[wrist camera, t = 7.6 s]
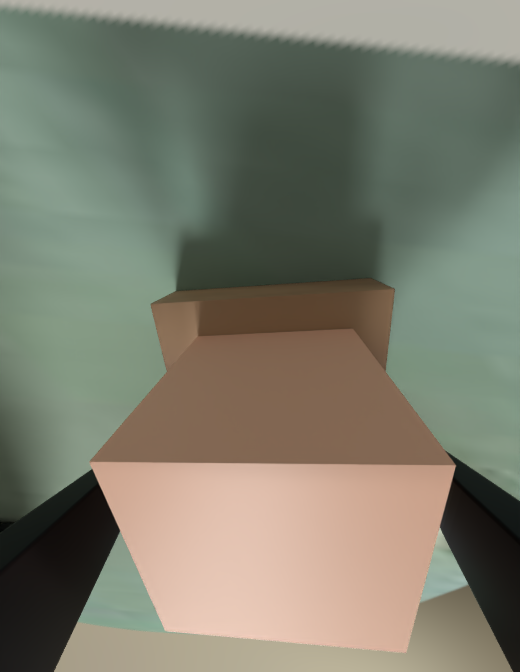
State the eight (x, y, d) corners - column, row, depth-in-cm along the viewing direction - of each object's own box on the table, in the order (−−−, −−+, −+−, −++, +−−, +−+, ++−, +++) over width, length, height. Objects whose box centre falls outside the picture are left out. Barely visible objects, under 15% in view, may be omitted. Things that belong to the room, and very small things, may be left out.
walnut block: (355, 431, 15) (373, 476, 12) (207, 431, 16) (191, 474, 13) (367, 276, 11) (394, 288, 9) (179, 289, 12) (150, 303, 10)
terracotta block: (346, 451, 11) (406, 652, 6) (219, 450, 12) (165, 631, 7) (352, 328, 9) (455, 465, 4) (197, 336, 10) (89, 461, 4)
